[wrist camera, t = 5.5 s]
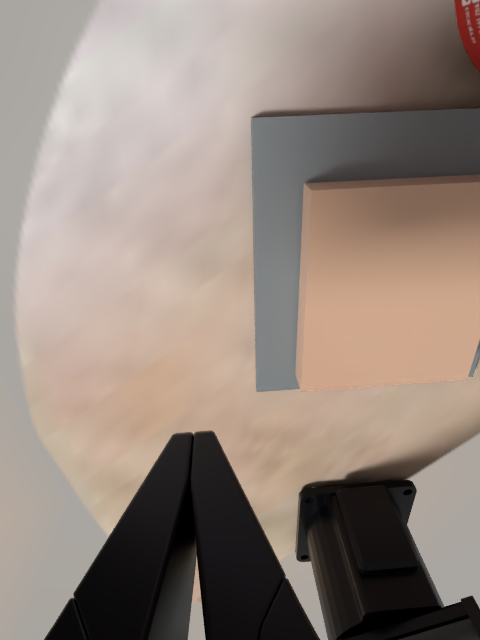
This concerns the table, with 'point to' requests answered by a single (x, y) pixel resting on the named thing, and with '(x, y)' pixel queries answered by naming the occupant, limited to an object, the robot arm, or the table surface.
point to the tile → (388, 282)
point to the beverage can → (469, 27)
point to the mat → (331, 166)
